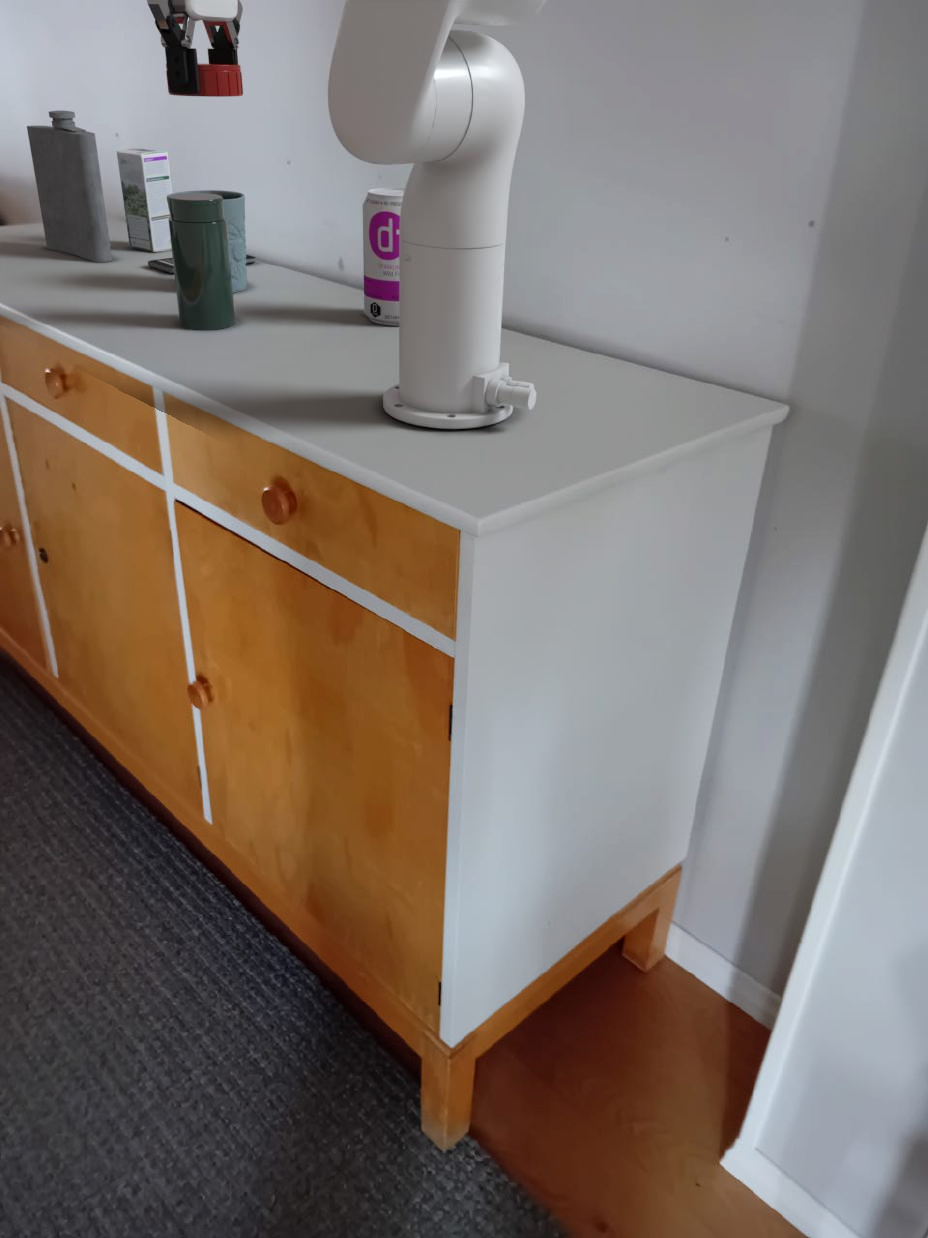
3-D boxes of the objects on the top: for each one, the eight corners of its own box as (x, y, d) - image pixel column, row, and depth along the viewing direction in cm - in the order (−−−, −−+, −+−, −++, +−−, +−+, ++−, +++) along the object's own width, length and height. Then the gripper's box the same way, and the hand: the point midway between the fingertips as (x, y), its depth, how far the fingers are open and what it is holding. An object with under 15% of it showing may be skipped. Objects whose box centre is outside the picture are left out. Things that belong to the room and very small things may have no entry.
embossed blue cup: (259, 292, 136) (253, 198, 130) (185, 297, 133) (175, 200, 127) (240, 277, 144) (233, 188, 138) (170, 281, 140) (159, 190, 134)
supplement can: (420, 329, 122) (422, 198, 115) (356, 323, 124) (353, 193, 116) (435, 314, 129) (438, 189, 122) (374, 309, 131) (373, 185, 123)
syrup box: (180, 247, 162) (170, 150, 155) (152, 252, 158) (140, 152, 151) (155, 243, 165) (144, 147, 158) (127, 248, 160) (114, 149, 153)
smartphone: (258, 257, 153) (170, 268, 144) (258, 262, 153) (171, 273, 144) (231, 250, 158) (145, 260, 148) (231, 254, 158) (146, 265, 149)
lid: (157, 94, 101) (153, 63, 99) (184, 92, 107) (181, 62, 106) (229, 97, 100) (226, 65, 98) (252, 94, 106) (250, 64, 105)
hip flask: (43, 247, 159) (19, 106, 149) (66, 244, 161) (44, 106, 151) (97, 262, 150) (76, 114, 140) (121, 259, 153) (102, 113, 142)
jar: (246, 321, 123) (236, 195, 116) (211, 332, 118) (199, 202, 110) (204, 313, 125) (192, 190, 118) (168, 324, 120) (153, 196, 113)
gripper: (198, -105, 103) (216, 89, 111) (97, -132, 88) (126, 93, 97) (264, -106, 101) (276, 91, 110) (172, -133, 86) (194, 96, 95)
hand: (206, 91), depth 103 cm, fingers closed on lid, 7 cm apart
